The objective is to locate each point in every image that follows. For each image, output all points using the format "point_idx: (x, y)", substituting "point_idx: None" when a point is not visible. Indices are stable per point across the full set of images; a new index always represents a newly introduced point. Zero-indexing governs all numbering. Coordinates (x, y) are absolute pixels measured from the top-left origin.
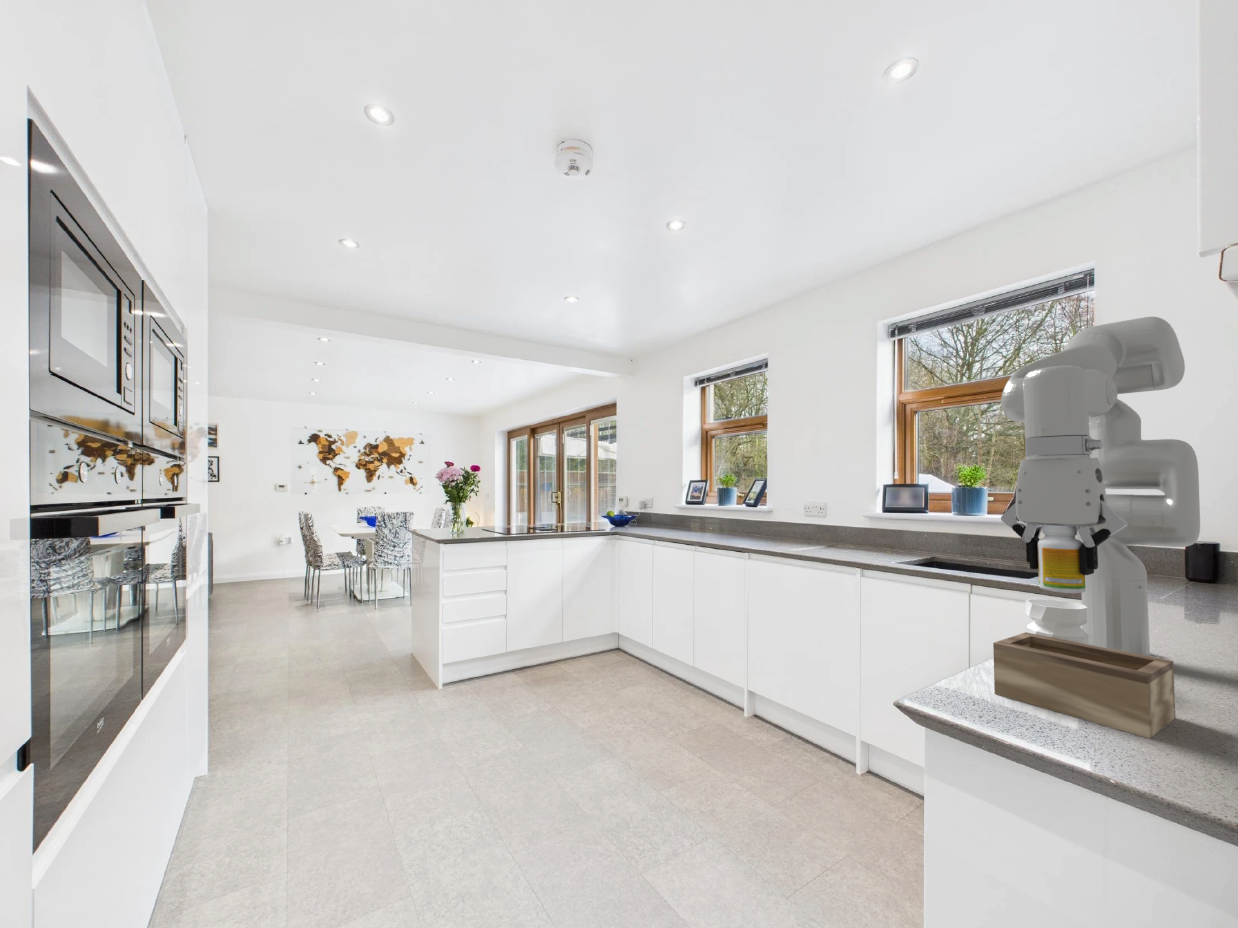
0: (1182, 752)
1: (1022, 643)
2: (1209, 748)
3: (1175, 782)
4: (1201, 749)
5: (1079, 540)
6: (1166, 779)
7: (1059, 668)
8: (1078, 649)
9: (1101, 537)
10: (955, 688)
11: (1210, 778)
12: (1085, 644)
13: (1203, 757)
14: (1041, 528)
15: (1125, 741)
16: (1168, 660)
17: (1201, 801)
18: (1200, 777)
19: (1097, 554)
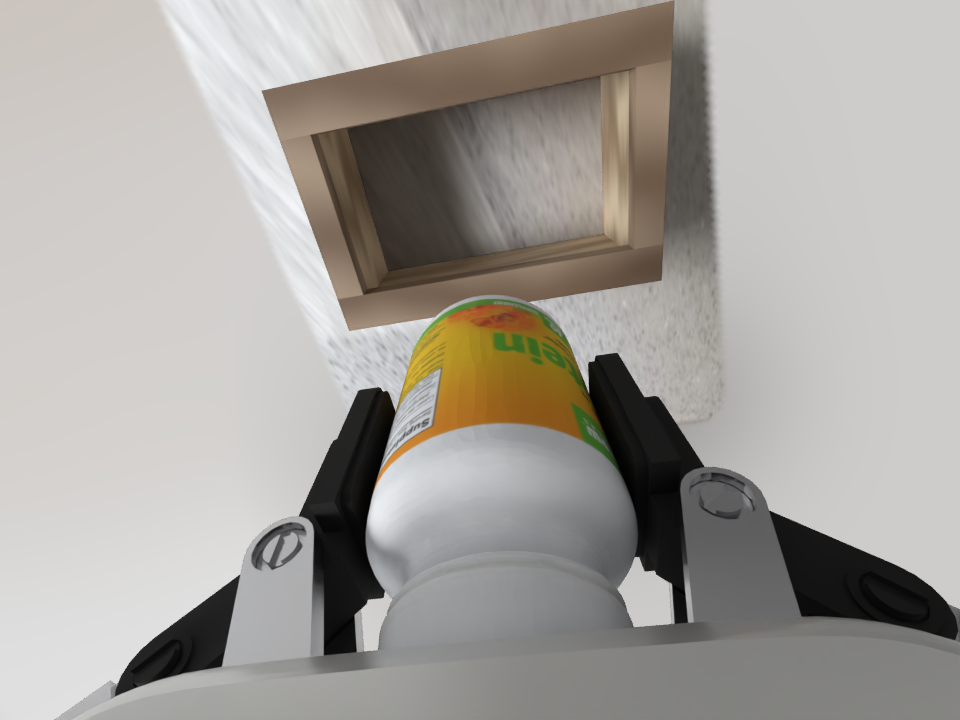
0: (663, 258)
1: (340, 208)
2: (690, 191)
3: (675, 375)
4: (681, 211)
5: (615, 532)
6: (667, 376)
7: None
8: (442, 108)
9: (809, 613)
10: (335, 328)
11: (703, 323)
12: (443, 64)
13: (688, 248)
14: (320, 645)
15: (599, 296)
16: (663, 12)
17: (702, 398)
18: (694, 332)
19: (689, 446)
